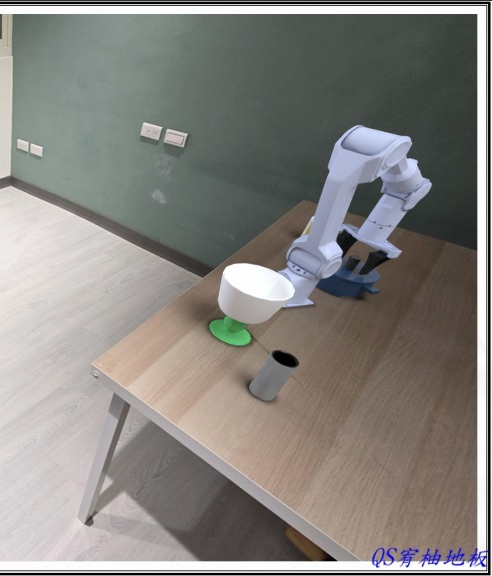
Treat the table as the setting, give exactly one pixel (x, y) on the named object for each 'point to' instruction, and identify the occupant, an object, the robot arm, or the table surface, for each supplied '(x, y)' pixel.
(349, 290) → the pan
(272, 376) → the planter
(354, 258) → the lid
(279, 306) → the cup
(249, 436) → the table surface
